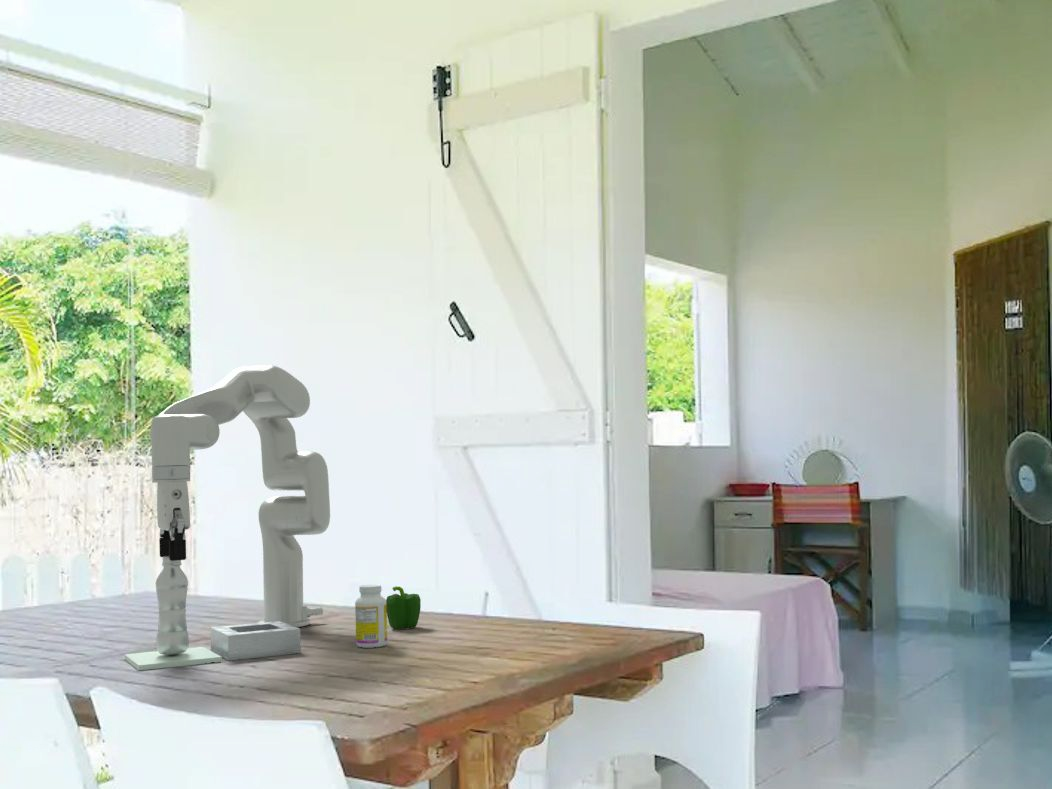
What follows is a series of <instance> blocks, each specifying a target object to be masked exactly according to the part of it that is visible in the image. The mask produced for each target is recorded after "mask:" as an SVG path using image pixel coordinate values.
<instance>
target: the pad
mask: <svg viewBox="0 0 1052 789" xmlns="http://www.w3.org/2000/svg"><path fill="white" fill-rule="evenodd" d="M222 659H223V657H221V656H219V655H217V654H216V653H214V652H212V651H211V649H208V648H207V647H204V646H198V647H197V646H196V647H188V649H187V651H186V652H184V653H181V654H178V655H174V656H169V655H164V654H159V652H158V651H147V652H146V651H145V652H136V653H126V654H124V660H125V661H126V662H127V663H129V665H131V666H132V667H134V668H135V669H136V670H138V671H148V670H156V669H167V668H175V667H185V666H195V665H205V663H206V664H212V663H211V662H215V663H222Z"/></svg>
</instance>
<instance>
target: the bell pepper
mask: <svg viewBox="0 0 1052 789" xmlns="http://www.w3.org/2000/svg"><path fill="white" fill-rule="evenodd" d="M392 591H393V592H396V591H399V594H398V593H392V594H391V595H388V596H387V597H386V598H385V599H386V610H387V620H388V623H389V626H390V628H391V629H395V630H404V629H407V628H410V629H414V628H416V626H418V622H419V618H420V614H421V609H422V608H421V605H422V604H421V596H420V595H419V593H418V594H417V593H410V594H409V593H407V592H405V591H404V589H403V588H402V587H401V586H396V585H395V586H393V587H392Z"/></svg>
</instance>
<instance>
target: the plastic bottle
mask: <svg viewBox="0 0 1052 789" xmlns="http://www.w3.org/2000/svg"><path fill="white" fill-rule="evenodd" d="M161 566H162V567H163V569H161V571H160V573H159V575H158V576H157V578H156V580H155V590H156V597H157V609H158V625H157V632H156V639H155V646H156V650H157V651H158V652H159V654H164V655H169V656H174V655H178V654H181V653H184V652H186V651H187V649H188V648H190V647H189V645H190V636H189V632H188V626H187V625H188V624H187V615H186V614H187V612H186V611H187V596H188V587H189V580H188V576H187V575H186V573H185V572H184V571H183V570H182V568H181V566H182V560H176V561H171V560H170V559H169V556H165V557H162V563H161Z"/></svg>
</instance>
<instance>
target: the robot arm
mask: <svg viewBox="0 0 1052 789" xmlns="http://www.w3.org/2000/svg"><path fill="white" fill-rule="evenodd" d="M310 398H311V397H310V394H309V391H308V389H307V387H306V386H305V384H303V382H301V381H300V380H299V379H297V378H296V377H295V376H294V375H292V373H290V372H288V371H286V370H285V369H283V368H282V367H279V366H276V365H253V366H251V365H249V366H248V365H247V366H241V367H238V368H235V369H233V370H231V371H230V372H229V373H228V374H226V375H225V376H224V377H223V378H222V379H220V380H219V381H218V382H217V383H215V384H214V385H213V386H212V387H211V388H209V389H207V390H205V391H202V392H199V393H196V394H195V395H192V396H189V397H186V398H184V399H182V400H180V401H179V400H178V401H177V402H174V403H172V404H171V405H169V406H168V407H166V408H165V409H164V410H163V411H162V412H160V413H159V414H157V415H156V416H154V417H152V419H151V423H150V430H149V431H150V432H149V437H150V440H151V441H150V442H151V483H155V484H156V483H157V484H156V485H157V486H156V487H157V488H156V492H157V493H156V517H157V518H156V519H157V527H158V528H159V530H160V531H159V540H158V541H159V543H158V544H159V557H160V558H163V557H165V556H169V559H170V560H171V561H176V560H181V561H185V560H187V540H186V539H187V538H186V530H189V529H190V528H191V512H190V498H189V488H188V487H189V486H188V482H191V455H190V454H191V450H193V451H194V450H196V451H197V450H206V449H209V448H211V447H213V446H214V445H216V443H217V442H218V440H219V437H220V427H219V425H223V424H226V423H229V422H232V421H233V420H235V419H236V418H237V417H238V416H239V415H240V414H241V413H242V412H243V413H244V414H245V415H246V416H247V417H248V418H249V419H250V421H251V422H252V423H253V424H254V426H255V428H256V429H257V432H258V434H259V437H260V451H261V467H262V479H263V483H264V485H265V487H266V488H267V489H269V490H270V491H271V490H272V491H275V492H277V491H278V492H279V491H280V492H284V491H285V492H286V491H287V492H289V491H292V492H293V491H294V492H295V491H296V492H297V491H303V492H304V495H282V496H281V495H279V496H272V497H269V498H267V499H265V500H264V501H263V502H262V503H260V506H259V509H258V523H259V527H260V532H261V540H262V552H263V553H262V556H263V558H262V559H263V560H262V562H263V570H262V571H263V620H259V621H257V623H264V622H275V621H281V622H283V623H286V624H289V625H291V626H294V627H297V628H300V627H306V626H309V625H310V624H311V619H310V618H311V616H315V617H316V616H323V615H324V608H323V607H322V606H321V607H320V606H319V607H309V606H307V605H306V604H305V605H304V567H303V566H304V563H303V561H304V556H303V550H302V548H301V545H300V543H299V542H298V540H297V538H295V536H305V535H306V536H307V535H308V536H311V535H312V536H313V535H314V536H315V535H321V534H324V533H325V532H326V531H327V530H328V528H329V524H330V520H331V504H330V485H329V483H330V482H329V472H328V471H329V470H328V466H327V463H326V460H325V458H324V457H323V456H322V454H320V453H318V452H317V451H298V448H297V440H296V438H297V437H296V430H295V428H294V426H293V425H292V423H291V421H290V420H289V419H295V418H301V417H303V416H305V415H306V413H307V412H308V410H309V409H310V405H311V399H310Z"/></svg>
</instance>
